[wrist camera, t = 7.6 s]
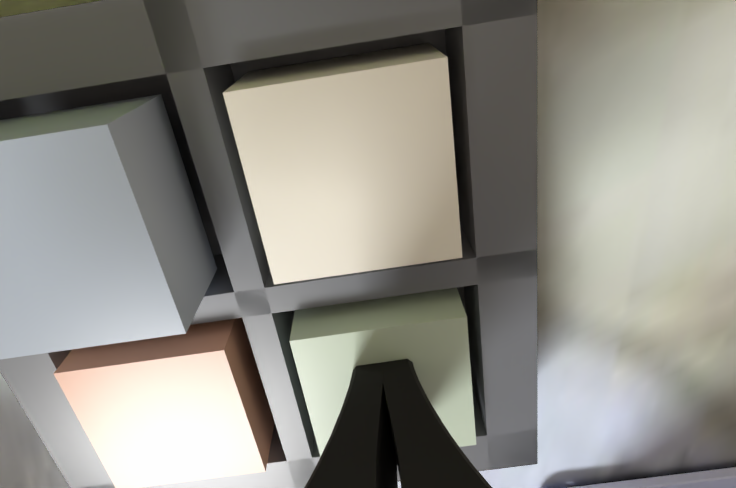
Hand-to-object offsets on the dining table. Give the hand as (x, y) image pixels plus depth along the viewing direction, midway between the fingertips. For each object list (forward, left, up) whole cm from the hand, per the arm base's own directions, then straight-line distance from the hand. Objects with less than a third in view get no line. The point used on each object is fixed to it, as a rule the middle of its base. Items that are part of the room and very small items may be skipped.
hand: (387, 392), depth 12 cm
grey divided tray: (+3, -3, -3) cm, 5 cm away
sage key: (0, 0, -2) cm, 2 cm away
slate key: (+6, -5, -1) cm, 8 cm away
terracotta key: (+6, 0, -2) cm, 6 cm away
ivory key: (0, -5, -2) cm, 6 cm away
